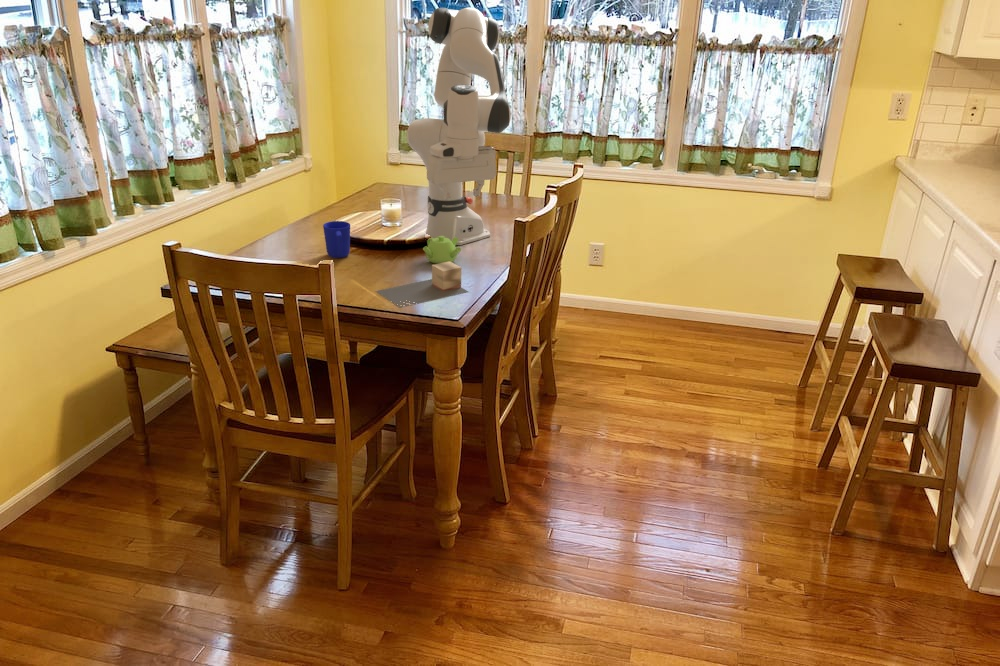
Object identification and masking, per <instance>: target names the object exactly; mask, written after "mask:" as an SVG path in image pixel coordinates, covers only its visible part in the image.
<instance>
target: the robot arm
mask: <svg viewBox="0 0 1000 666" xmlns="http://www.w3.org/2000/svg"><path fill="white" fill-rule="evenodd" d="M430 15H431V16H430V17H429V20H428V24H427V25H428V27H427V28H428V33H429V37H430V39H431V41H432V42H435V43H437V44H440V45H444V46H443V49H442V52H441V54H440V55H441V56H440V57H439V58H440V59H439V62H438V65H437V66H438V67H437V72H436V77H435V78H436V79H435V85H434V86H435V87H434V93H433V96H434V100H435V102H436V104H437V105H438V106H440V108H442V109H443V118H442V119H441V118H430V117H426V118H418V119H414V120H412V121H411V122H410V124H409V125H408V127H407V130H406V140H407V143H408V145H409V147H410V148H411V149H412V150H413V151H415V153H416V154H417V156H419V158H420V159H421V160H422V162H423V164H424V166H425V169H426V179H427V181H428V182H427V183H428V196H427V211H428V212H427V213H428V214H427V215H428V218H427V225H426V229H425V233H426V234H428V235H430V236H431V238H438V236H444V238H448V239H450V240H451V241H452V240H453V238H454V237H456V238H458V241H457V244H456V246H462V245H466V244H468V243H473V242H476V241H479V240H483V239H486V238H489V237H491V233H490V231H489V230H487V228H485V227H484V222H483V219H482V217H481V216H480V215H479V214H478V213H476V212H475V211H474V210H472V209H471V208H470V207H468V205H467V204H469V205H472V204H473V201H474V199H473V198H472V197H469V196H468V197H466V196H465V195H463V192H464V191H463V188H464V187H463V183H465V182H476V183H477V185H476V187H475V188H473V189H472V196H473V197H480V196H481V191H482V189H483V187H484V186H485V181H490V180H494V179H495V178H496V176H497V165H496V156H497V155H496V153H497V151H496V150H495V148H494V147H492V146H491V145H486V146H485V144H486V135H485V132H488V133H493V134H500V133H502V132H504V131H505V130H506V129H508V127H510V122H511V120H512V119H511V118H512V111H511V106H510V103H509V100H508V96H507V93H506V87H505V83H504V82H505V81H504V77H503V72H502V68H501V63H500V60H499V57H498V55H497V54H496V53H495V52H493V51H494V50H495V48H496V46H497V45H498V43H499V39H500V25H499V22H498V21H497V20H495V19H494V18H492V17H490V16H484V15H483V13H482V12H481V11H480V10H479V9H477V8H475V7H464V8H462V9H459V10H458V9H450V8H449V9H448V8H447V7H438V8H435V9H434V10H433V13H431V14H430ZM473 75H475V76H478V77H480V78H482V79H484V80H485V81H487V83H488V85H489V90H490V95H479V91H478V89H477V87H475V86H474V85H472V84H471V83H472V76H473ZM431 241H432V240H430V242H431Z"/></svg>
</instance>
